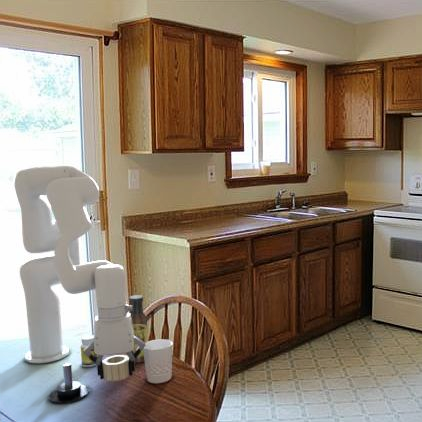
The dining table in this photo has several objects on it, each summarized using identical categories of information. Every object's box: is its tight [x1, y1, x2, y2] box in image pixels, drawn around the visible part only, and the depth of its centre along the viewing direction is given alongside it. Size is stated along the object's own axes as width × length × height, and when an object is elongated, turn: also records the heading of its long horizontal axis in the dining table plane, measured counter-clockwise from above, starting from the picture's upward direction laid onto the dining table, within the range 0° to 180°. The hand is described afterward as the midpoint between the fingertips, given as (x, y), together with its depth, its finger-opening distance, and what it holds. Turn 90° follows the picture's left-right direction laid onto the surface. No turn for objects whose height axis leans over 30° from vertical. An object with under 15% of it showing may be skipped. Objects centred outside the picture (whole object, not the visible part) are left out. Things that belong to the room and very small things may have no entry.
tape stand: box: [48, 362, 90, 405], centre depth 140 cm, size 10×10×8 cm
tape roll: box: [102, 354, 130, 382], centre depth 144 cm, size 7×7×4 cm
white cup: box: [143, 338, 173, 384], centre depth 149 cm, size 8×8×10 cm
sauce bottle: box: [128, 294, 149, 364], centre depth 162 cm, size 6×6×20 cm
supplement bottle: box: [80, 334, 98, 368], centre depth 160 cm, size 5×5×8 cm
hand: (116, 375), depth 144 cm, fingers closed on tape roll, 6 cm apart
